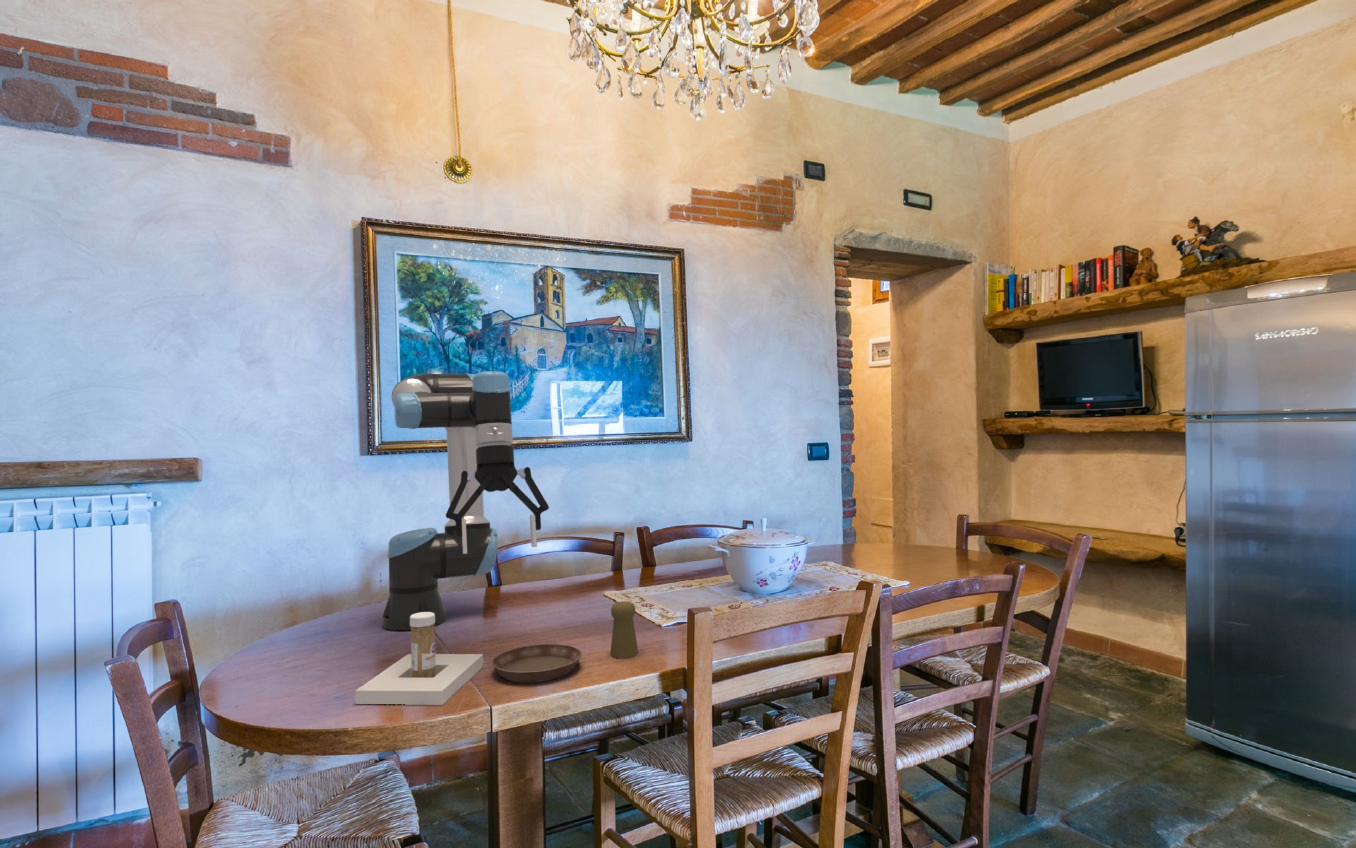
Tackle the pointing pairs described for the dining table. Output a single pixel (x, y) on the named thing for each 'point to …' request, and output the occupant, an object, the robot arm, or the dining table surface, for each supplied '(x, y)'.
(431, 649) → the sprinkles bottle
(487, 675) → the dining table surface
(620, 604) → the pepper mill
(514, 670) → the plant saucer
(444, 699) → the white board with recess
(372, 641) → the dining table surface
